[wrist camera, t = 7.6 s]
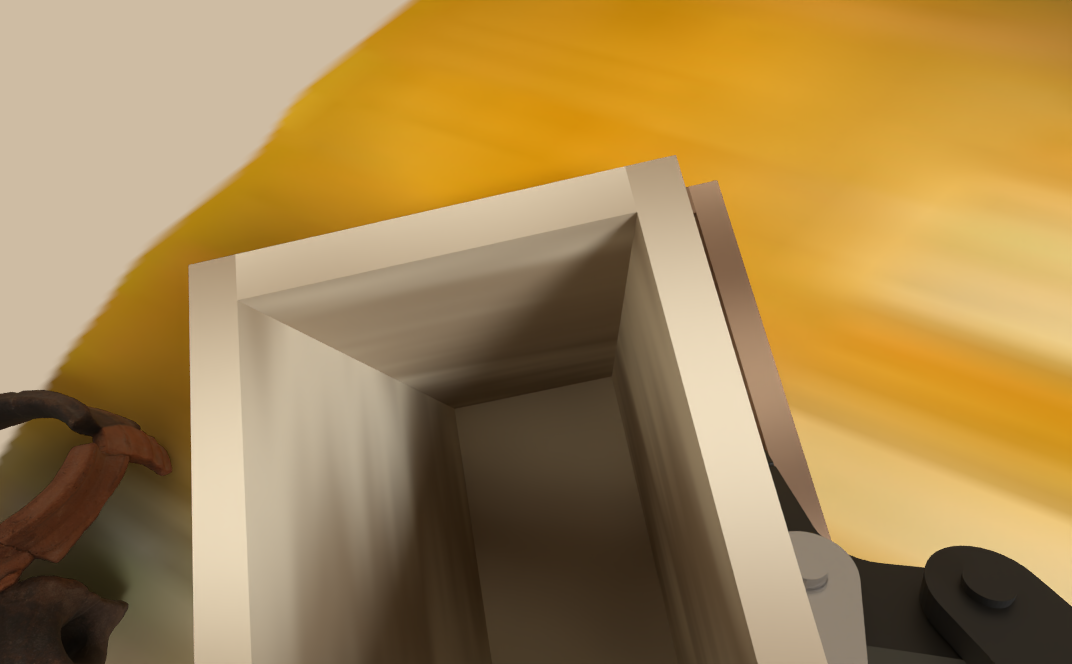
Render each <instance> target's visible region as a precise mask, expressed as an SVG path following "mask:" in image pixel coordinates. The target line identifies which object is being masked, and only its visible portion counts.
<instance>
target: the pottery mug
mask: <svg viewBox="0 0 1072 664" xmlns="http://www.w3.org/2000/svg"><path fill="white" fill-rule="evenodd" d="M36 418H56V419H59V420H61V421H62V422H65V423H66V424H67V425H68V426H69V428H70V429H72V430H73V431H75V432H77V433H79V434H83V435H87V436H92V437H93V438H92V439H93V443H88V444H84V445H79V446H75V447H73V448H72V449H71V450H70V451H69V453H68V455H67V457H66V459H65V461H64V463H63V465H62V466H61V468H60V469H59V471H58V473H57V474H56V476H55V477H54V479H53V480H52V482H51V483H50V484H49V485H48V486H47V487H46V488H45V489H44V490H43V491H42V492H41V493H40V494H39V495H37V496H36V497H35V498H34V499H33V500H32V501H31V502H30V503H28V504H27V505H26V506H25V507H23V508H22V509H21V510H19V511H18V512H17V513H15V514H13V515H12V516H10V517H9V518H8V519H6V520H5V521H3V522H2V523H1V524H0V664H105V661H106V656H107V647H108V639H109V636H110V634H111V632H112V631H113V629H114V628H115V627H116V626H117V624H118V623H119V622H120V621H121V619H122V618H123V617H124V614H125V613H126V611H127V609H128V603H126V602H124V601H122V600H109V599H105V598H102V597H100V596H99V595H97V594H95V593H93V592H90V591H89V590H88V588H87V587H86V586H85V585H84V584H83V583H81V582H79V581H77V580H74V579H65V578H62V577H58V576H37V577H31V578H28V579H26V580H24V581H22V582H18V581H19V578H20V576H21V574H22V572H23V571H24V570H25V569H26V568H27V567H28V566H29V565H30V564H31V563H32V561H33V560H34V559H42V560H48V561H50V562H53V563H58V562H59V561H60V560H62V559H63V558H64V557H65V556H66V554H67V553H68V552H69V550H70V549H71V547H72V546H73V545H74V544H75V543H76V542H77V540H78V539H79V538H80V537H81V535H82V534H83V533H84V531H85V530H86V529H87V528H88V527H89V526H90V525H91V524H92V523H93V522H94V521H95V520H96V518H97V517H98V515H99V513H100V511H101V509H102V507H103V506H104V504H105V503H106V501H107V500H108V498H109V497H110V496H111V495H112V494H113V492H114V490H115V489H116V488H117V486H118V485H119V483H120V481H121V480H122V478H123V476H124V474H125V471H126V469H127V466H128V464H129V462H130V463H137V464H142V465H144V466H146V467H148V468H149V469H151V470H153V471H154V472H155V473H157V474H158V475H161V476H164V475H167V474H169V473H171V472H172V467H171V462H170V459H169V457H168V454H167V452H166V450H165V449H164V448H163V447H162V446H160V445H159V444H158V443H157V441H156V440H155V438H154V437H152V436H148V435H146V433H144V432H143V431H141V430H140V426H139V425H138V424H137V423H136V422H134V421H132V420H129V419H127V418H124V417H122V416H119V415H117V414H113V413H111V412H108V411H105V410H101V409H98V408H92V407H87V406H86V405H85V404H83V403H81V402H80V401H78V400H77V399H75V398H72V397H69V396H66V395H64V394H61V393H58V392H53V391H46V390H32V391H22V392H19V393H15V392H9V393H3V394H0V430H2V429H5V428H8V427H11V426H14V425H17V424H21V423H24V422H27V421H30V420H32V419H36Z"/></svg>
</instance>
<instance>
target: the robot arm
mask: <svg viewBox="0 0 1072 664" xmlns="http://www.w3.org/2000/svg"><path fill="white" fill-rule="evenodd" d="M763 449H764V447H763ZM764 452H765V455H766V459H767V462H768V466H769V469H770V472H771V476H772V479H773V482H774V486H775V489H776V492H777V496H778V499H779V502H780V506H781V509H782V512H783V516H784V519H785V522H786V526H787V529H788V533H789V536H790V539H791V543H792V546H793V549H794V553H795V556H796V559H797V563H798V566H799V569H800V573H801V576H802V579H803V583H804V586H805V589H806V593H807V596H808V600H809V603H810V606H811V610H812V613H813V616H814V620H815V623H816V626H817V630H818V633H819V636H820V640H821V643H822V646H823V650H824V653H825V656H826V660H827V663H828V664H1072V606H1071V605H1069V604H1068V603H1067V602H1066V601H1065V600H1064V599H1062V598H1061V597H1060V596H1059V595H1058V594H1056V593H1055V592H1054V591H1053V590H1052V589H1051V588H1049V587H1048V586H1047V585H1046V584H1045V583H1043V582H1042V581H1041V580H1040V579H1039V578H1038V577H1036V576H1035V575H1034V574H1033V573H1032V572H1030V571H1029V570H1028V569H1026V568H1025V567H1024V566H1022V565H1020V564H1019V563H1017V562H1016V561H1014V560H1012V559H1010V558H1008V557H1006V556H1004V555H1002V554H999V553H996V552H994V551H991V550H987V549H983V548H978V547H972V546H952V547H947V548H943V549H941V550H939V551H937V552H935V553H934V554H933V555H931V557H930V558H929V559H928V561H927V563H926V566H925V568H922V567H913V566H903V565H893V564H883V563H876V562H870V561H866V560H862V559H859V558H856V557H853V556H851V555H848V554H847V553H846V551H844V550H843V549H842V548H841V547H840V546H838V545H837V544H835V543H834V542H832V541H831V540H829V539H827V538H825V537H822V536H821V535H820V534H819V533H818V532H817V530H816V529H815V528H814V526H813V525H812V523H811V521H810V520H809V518H808V517H807V515H806V513H805V512H804V510H803V509H802V507H801V505H800V504H799V502H798V501H797V499H796V497H795V496H794V494H793V493H792V491H791V489H790V488H789V486H788V485H787V483H786V481H785V480H784V478H783V477H782V475H781V474H780V472H779V470H778V469H777V467H776V466H774V463H773V461H772V459H771V458H770V456H769V454H768V453H767V451H766V450H764Z"/></svg>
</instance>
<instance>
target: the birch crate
mask: <svg viewBox="0 0 1072 664" xmlns="http://www.w3.org/2000/svg"><path fill="white" fill-rule="evenodd" d="M189 330H190V401H191V472H192V543H193V614H194V664H828V663H827V660H826V656H825V653H824V650H823V646H822V643H821V640H820V636H819V633H818V630H817V626H816V623H815V620H814V616H813V613H812V610H811V606H810V603H809V600H808V596H807V593H806V589H805V586H804V583H803V579H802V576H801V573H800V569H799V566H798V563H797V559H796V556H795V553H794V549H793V546H792V543H791V539H790V536H789V533H788V529H787V526H786V522H785V519H784V516H783V512H782V509H781V506H780V502H779V499H778V496H777V492H776V489H775V486H774V482H773V479H772V476H771V472H770V469H769V466H768V462H767V459H766V455H765V452H764V449H763V445H762V442H761V439H760V435H759V432H758V429H757V425H756V422H755V419H754V415H753V412H752V409H751V405H750V402H749V399H748V395H747V392H746V388H745V385H744V382H743V378H742V375H741V372H740V368H739V365H738V362H737V358H736V355H735V352H734V348H733V345H732V342H731V338H730V335H729V331H728V328H727V325H726V321H725V318H724V315H723V311H722V308H721V305H720V301H719V298H718V295H717V291H716V288H715V285H714V281H713V278H712V275H711V271H710V268H709V264H708V261H707V258H706V254H705V251H704V248H703V244H702V241H701V238H700V234H699V231H698V228H697V224H696V221H695V218H694V214H693V211H692V208H691V204H690V201H689V197H688V194H687V191H686V187H685V184H684V181H683V177H682V174H681V171H680V167H679V164H678V161H677V157H676V155H674V156H669V157H665V158H660V159H656V160H651V161H647V162H643V163H638V164H634V165H629V166H625V167H620V168H616V169H612V170H607V171H603V172H598V173H594V174H589V175H585V176H581V177H576V178H572V179H567V180H563V181H558V182H554V183H550V184H545V185H541V186H536V187H532V188H527V189H523V190H519V191H514V192H510V193H505V194H501V195H496V196H492V197H488V198H483V199H479V200H474V201H470V202H465V203H461V204H457V205H452V206H448V207H443V208H439V209H434V210H430V211H426V212H421V213H417V214H412V215H408V216H403V217H399V218H395V219H390V220H386V221H381V222H377V223H372V224H368V225H364V226H359V227H355V228H350V229H346V230H342V231H337V232H333V233H328V234H324V235H319V236H315V237H311V238H306V239H302V240H297V241H293V242H288V243H284V244H280V245H275V246H271V247H266V248H262V249H257V250H253V251H249V252H244V253H240V254H235V255H231V256H226V257H222V258H218V259H213V260H209V261H204V262H200V263H195V264H191V265H189Z"/></svg>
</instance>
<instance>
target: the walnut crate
mask: <svg viewBox="0 0 1072 664" xmlns="http://www.w3.org/2000/svg"><path fill="white" fill-rule="evenodd" d="M686 191H687V194H688V197H689V201H690V204H691V208H692V211H693V214H694V218H695V221H696V224H697V228H698V231H699V234H700V238H701V241H702V244H703V248H704V251H705V254H706V258H707V261H708V264H709V268H710V271H711V275H712V278H713V281H714V285H715V288H716V291H717V295H718V298H719V301H720V305H721V308H722V311H723V315H724V318H725V321H726V325H727V328H728V331H729V335H730V338H731V342H732V345H733V348H734V352H735V355H736V358H737V362H738V365H739V368H740V372H741V375H742V378H743V382H744V385H745V388H746V392H747V395H748V399H749V402H750V405H751V409H752V412H753V415H754V419H755V422H756V425H757V429H758V432H759V435H760V439H761V442H762V445H763V447H764V450H766V451H767V453H768V454H769V456H770V458H771V459H772V461H773V463H774V466H776V467H777V469H778V470H779V472H780V474H781V475H782V477H783V478H784V480H785V481H786V483H787V485H788V486H789V488H790V489H791V491H792V493H793V494H794V496H795V497H796V499H797V501H798V502H799V504H800V505H801V507H802V509H803V510H804V512H805V513H806V515H807V517H808V518H809V520H810V521H811V523H812V525H813V526H814V528H815V529H816V530H817V532H818V533H819V534H820V535H821V536H822V537H825V538H827V539H829V540H831V538H830V535H829V532H828V529H827V525H826V522H825V519H824V516H823V513H822V510H821V507H820V503H819V500H818V497H817V494H816V491H815V488H814V484H813V481H812V478H811V475H810V472H809V469H808V466H807V462H806V459H805V456H804V453H803V450H802V447H801V443H800V440H799V437H798V434H797V431H796V428H795V424H794V421H793V418H792V415H791V412H790V409H789V406H788V402H787V399H786V396H785V393H784V390H783V387H782V383H781V380H780V377H779V374H778V371H777V368H776V365H775V361H774V358H773V355H772V352H771V349H770V346H769V342H768V339H767V336H766V333H765V330H764V327H763V323H762V320H761V317H760V314H759V311H758V308H757V305H756V301H755V298H754V295H753V292H752V289H751V286H750V282H749V279H748V276H747V273H746V270H745V267H744V263H743V260H742V257H741V254H740V251H739V248H738V245H737V241H736V238H735V235H734V232H733V229H732V226H731V222H730V219H729V216H728V213H727V210H726V207H725V204H724V200H723V197H722V194H721V191H720V188H719V185H718V181H717V180H716V181H712V182H707V183H703V184H699V185H694V186H690V187H686Z"/></svg>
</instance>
